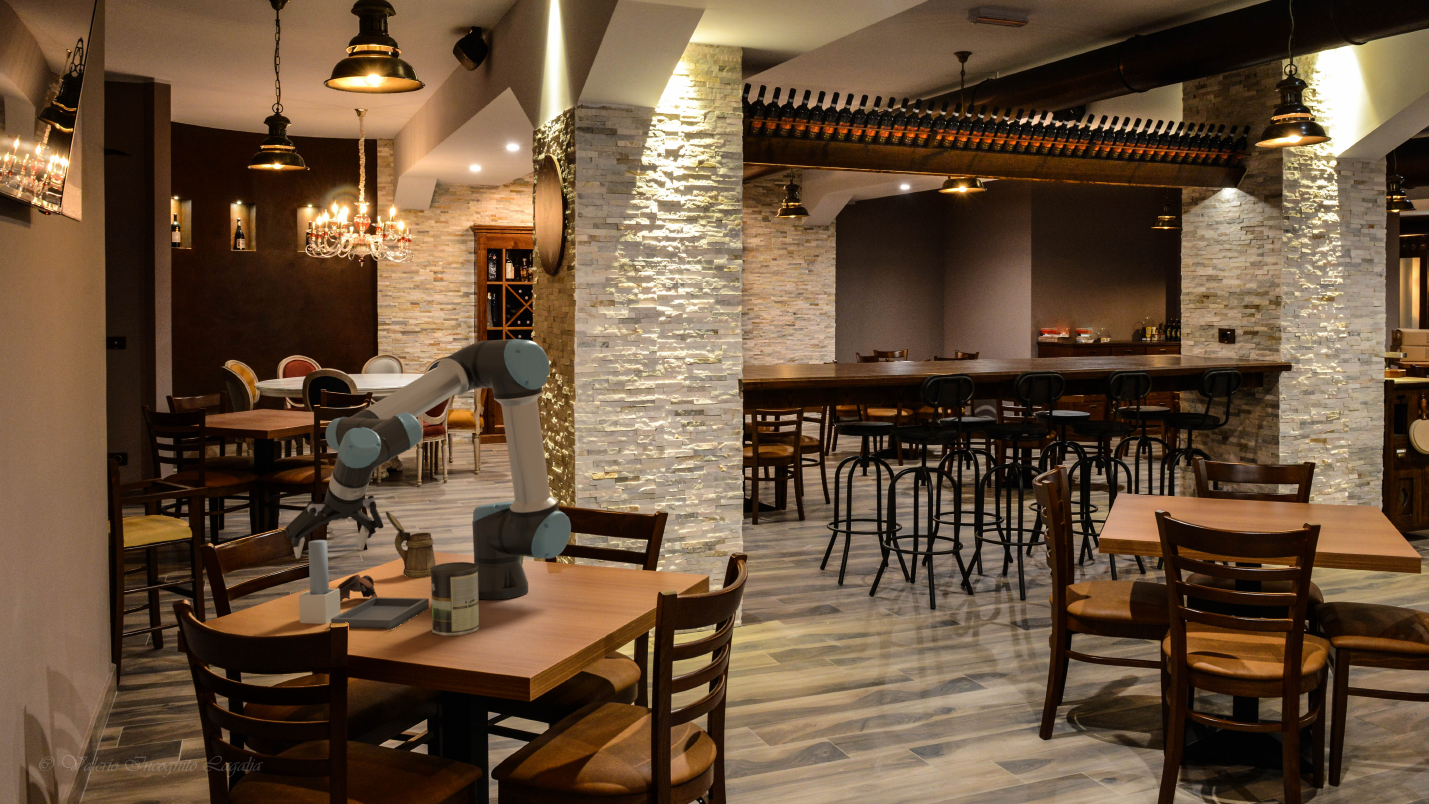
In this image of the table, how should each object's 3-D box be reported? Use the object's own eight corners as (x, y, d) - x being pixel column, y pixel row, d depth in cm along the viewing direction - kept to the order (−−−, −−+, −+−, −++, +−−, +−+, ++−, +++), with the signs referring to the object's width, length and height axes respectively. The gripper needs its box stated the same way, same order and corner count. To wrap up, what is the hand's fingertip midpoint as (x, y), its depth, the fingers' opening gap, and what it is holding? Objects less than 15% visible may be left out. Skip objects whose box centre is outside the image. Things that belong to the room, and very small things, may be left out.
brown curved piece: (373, 610, 247) (354, 583, 245) (342, 626, 249) (322, 599, 247) (391, 587, 258) (372, 560, 256) (360, 602, 260) (342, 576, 258)
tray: (429, 608, 246) (428, 598, 246) (390, 631, 226) (390, 620, 226) (374, 607, 248) (373, 597, 248) (331, 629, 228) (330, 618, 228)
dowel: (333, 617, 237) (330, 540, 236) (323, 621, 233) (321, 543, 232) (317, 616, 237) (314, 539, 236) (307, 621, 233) (304, 543, 232)
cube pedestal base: (340, 618, 238) (339, 588, 237) (326, 626, 231) (325, 595, 231) (315, 618, 239) (314, 588, 238) (299, 625, 232) (298, 594, 232)
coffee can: (427, 636, 221) (425, 572, 221) (437, 624, 232) (435, 562, 231) (476, 635, 222) (474, 570, 221) (483, 622, 232) (481, 561, 232)
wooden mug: (389, 572, 288) (387, 508, 287) (439, 570, 290) (437, 506, 289) (384, 579, 279) (382, 513, 278) (436, 576, 281) (434, 511, 280)
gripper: (288, 508, 204) (272, 570, 216) (411, 496, 218) (389, 555, 231) (280, 479, 208) (265, 542, 220) (401, 469, 222) (380, 529, 235)
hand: (328, 549), depth 226 cm, fingers open, 13 cm apart
